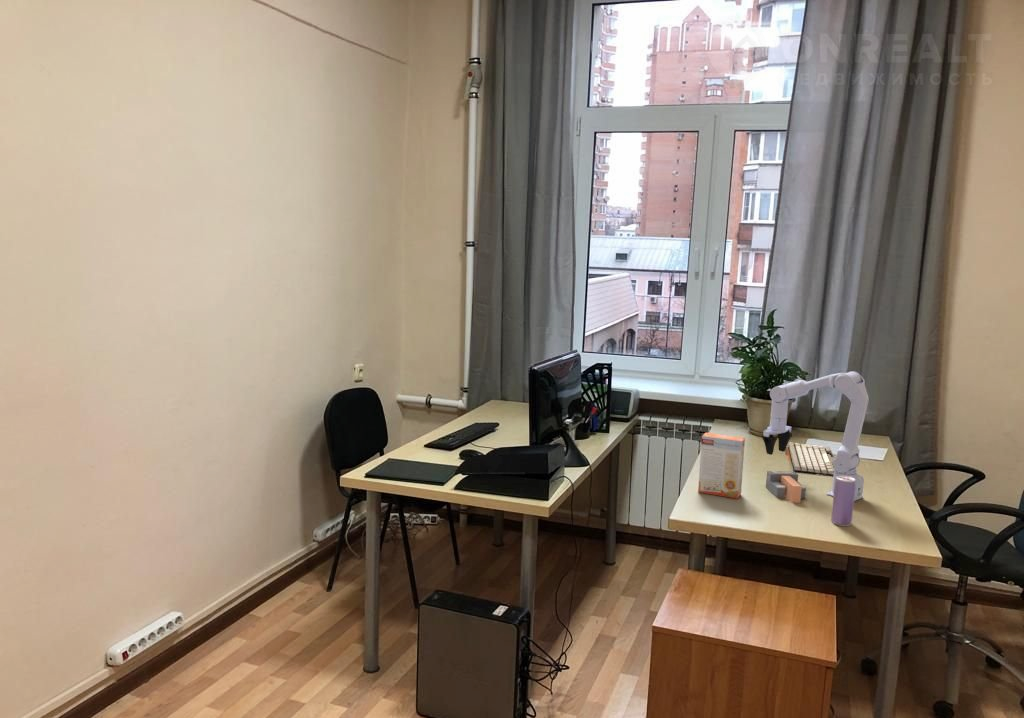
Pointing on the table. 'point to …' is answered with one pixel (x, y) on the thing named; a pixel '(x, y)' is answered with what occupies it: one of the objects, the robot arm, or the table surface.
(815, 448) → the mechanical keyboard
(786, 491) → the salmon long block
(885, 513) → the table surface
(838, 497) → the beverage can
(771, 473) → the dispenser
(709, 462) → the cracker box
